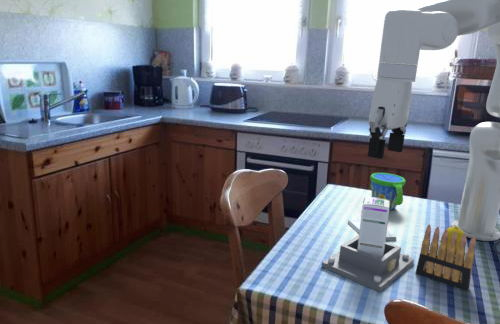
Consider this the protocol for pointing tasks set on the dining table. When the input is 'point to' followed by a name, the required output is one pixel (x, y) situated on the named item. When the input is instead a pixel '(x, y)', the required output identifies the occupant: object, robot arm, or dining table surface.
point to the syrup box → (373, 226)
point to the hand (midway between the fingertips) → (385, 154)
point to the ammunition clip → (446, 259)
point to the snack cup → (388, 188)
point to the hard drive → (356, 226)
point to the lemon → (450, 233)
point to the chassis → (368, 264)
